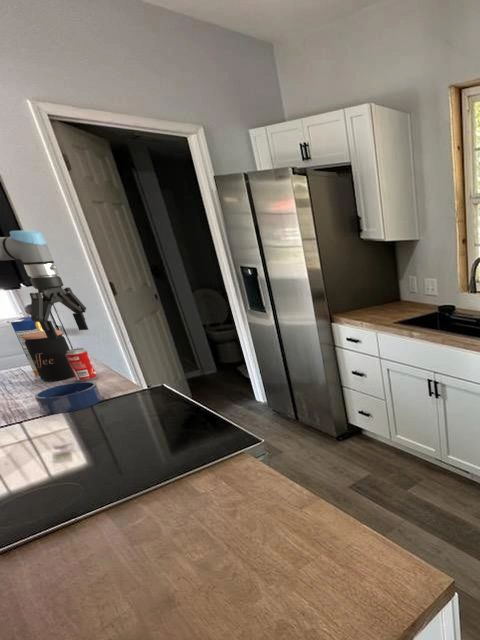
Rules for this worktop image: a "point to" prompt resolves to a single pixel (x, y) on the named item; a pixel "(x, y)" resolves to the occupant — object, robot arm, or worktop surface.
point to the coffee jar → (49, 356)
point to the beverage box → (26, 327)
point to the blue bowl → (68, 397)
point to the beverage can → (81, 364)
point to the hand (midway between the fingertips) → (69, 334)
